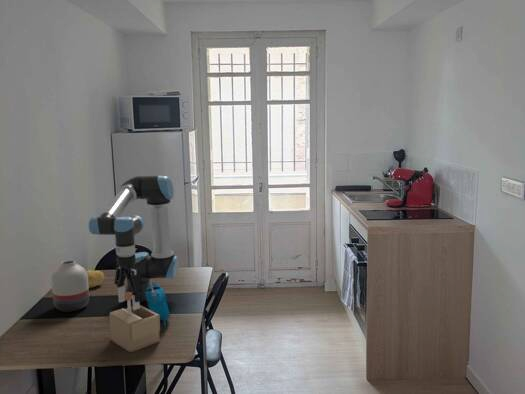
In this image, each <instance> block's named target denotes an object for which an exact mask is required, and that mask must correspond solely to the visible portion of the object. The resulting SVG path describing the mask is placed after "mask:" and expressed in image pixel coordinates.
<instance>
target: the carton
mask: <svg viewBox="0 0 525 394" xmlns="http://www.w3.org/2000/svg"><path fill="white" fill-rule="evenodd" d="M125 309H126V310H128V307H126V308H125ZM131 313H133V314H135V315H137V316H139V317H141V318H142V320H141V321H138V322H135V323H132V324H129V325H128V324H127V323H125V322H123V321H121V320H120V319H118V318H116V317H115V316H113V315H111V314H110V313H108V314H109V329H110V341H111V340H112V342H113V343H114V344H116V345H118V346H119V347H121V348H122V349H124V351H126V352H128V353H133V352H136V351H139V350H142V349H143V348H147V347H149V346H152V345H154V344H157V343H159V342H160V340H161V339H160V331H161V322H160V321H161V320H160V317H159V314H157V313H155V312H153V311H151V310H149V308H147V307H145V306H143V305H141V304H140V308H139V309H136V310H133V305H131Z"/></svg>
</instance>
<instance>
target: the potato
mask: <svg viewBox="0 0 525 394" xmlns="http://www.w3.org/2000/svg"><path fill="white" fill-rule="evenodd" d="M86 272H87V276H88V286H89V289H90V288H94V287H98V286H99V285H101V284H102V283H103V281H104V279H105V274H104V272H103V271H101V270H91V269H89V270H86Z"/></svg>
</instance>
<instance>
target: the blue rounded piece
mask: <svg viewBox="0 0 525 394" xmlns="http://www.w3.org/2000/svg"><path fill="white" fill-rule="evenodd" d="M146 291H147V292H146V298H147V301H146V302H147V306H148V309H149V310H151V311H153V312H155V313H157V314H159V317H160V321H162V320H163V326H164V327H166V324H167V323H166V319H168V318H170V316H171V315H170V311H169V307H168V301H167V298H166V293H165V290H164V288H161V286H160V285H159V284H158V283H157V282H154V281H152V280H150V284H149V285H148V286H147V289H146Z"/></svg>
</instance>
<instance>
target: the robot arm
mask: <svg viewBox="0 0 525 394" xmlns="http://www.w3.org/2000/svg"><path fill="white" fill-rule="evenodd" d="M174 192H175V191H174V185H173V182H172V180H171V178H170V177H169V176H167V175H165V176H164V175H138V176H134V177H130V178H129V179H128V180H126V181H124V182H123V183H122V184H121V185H120V186H119V188H117V190H116V194H115V196H114V197H113V198H112V200H111V201H110V203H109V204H108V205H107V206H106V208H105V209H104V210H103V212H102V213H101V214H100V216H95V217H91V218H90V219H89V221H88V230H89V233H90V234H92V235H98V236H101V235H103V236H105V235H106V236H107V235H109V236H110V235H113V236H114V238H115V253H116V264H115V268H116V269H115V274H114V275H115V276H114V285H116V288H117V294H118V303H123V302H125V301H126V302H127V300H125V298H124V295H125V293H126V292H131V293H132V299H131V303H132V306H133V310H136V309H139V308H140V305H141V304H140V303H142V302H147V298H146V292H147V291H146V289H147V286H148V285H149V284H150V281H151V279H154V280H155V279H157V280H158V279H159V280H168V279H174V278H175V277H176V276H177V273H178V269H179V268H178V267H179V257H178V256H177V255H175V252H174V250H172V249H171V237H170V236H171V235H170V234H171V233H170V221H169V207H168V206H169V204H170V203H171V200H173V199H174ZM137 200H146V205H148V206H149V208H150V209H149V211H150V221H151V222H150V223H151V230H152V232H151V233H152V246H153V251H152V252H151V254H149V253H148V252H146V251H142V252H141V251H140V252H136V241H135V236H136V235H137V234H139V233H140V232H141V231H142V230H143V229H144V226H145V222H144V220H143V219H144V218H142V217H141V216H139V215H136V214H135V215H130V216H123V215H124V213H125V212H126V210H127V208H129V206H130V205H131V204H132V203H134V202H135V201H137ZM125 281H126V287H125Z"/></svg>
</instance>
